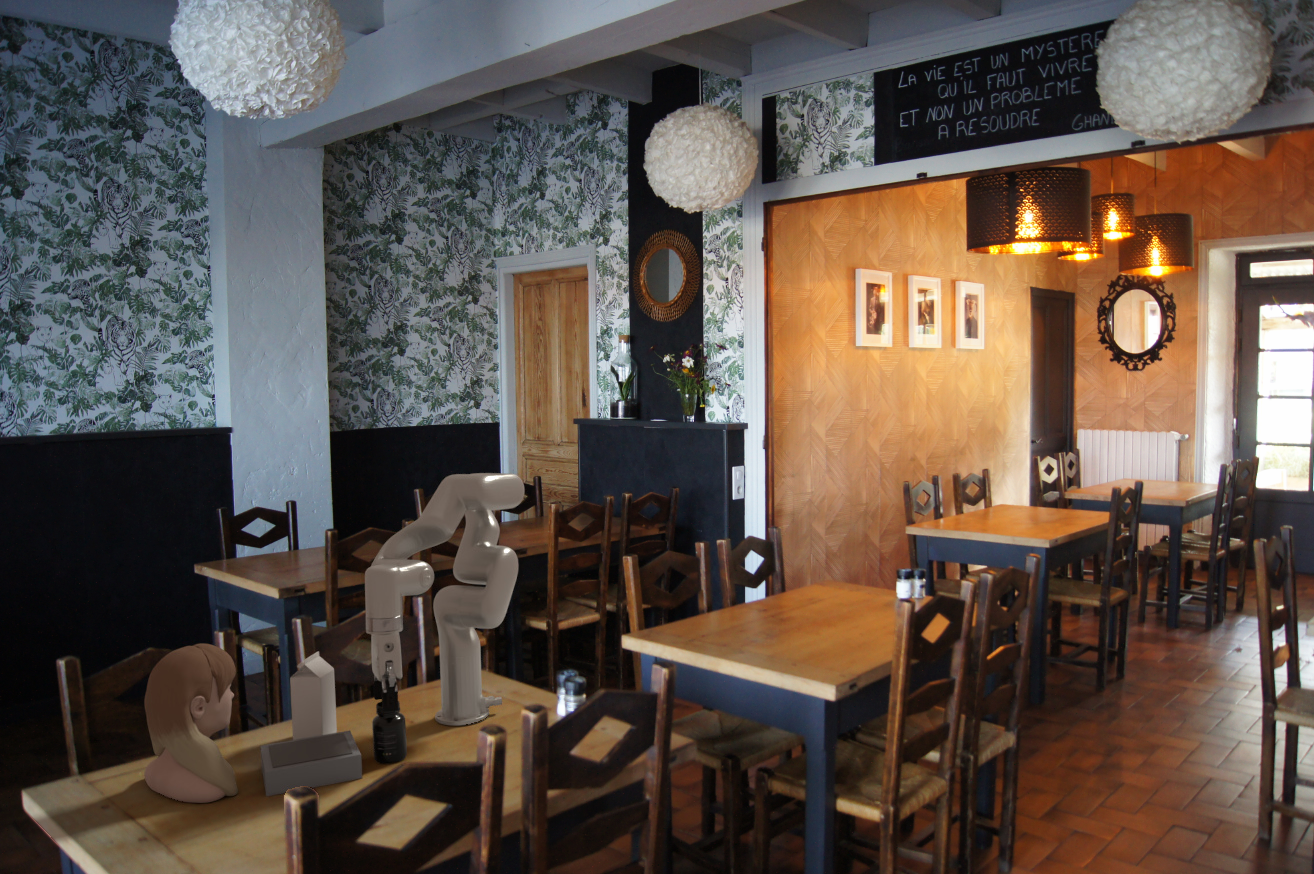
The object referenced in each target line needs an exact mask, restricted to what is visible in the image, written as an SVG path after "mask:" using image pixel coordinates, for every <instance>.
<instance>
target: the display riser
mask: <svg viewBox="0 0 1314 874" xmlns="http://www.w3.org/2000/svg"><path fill="white" fill-rule="evenodd" d="M260 766H261V775H262V779H263V785H264V791H265V796H266V797H271V796H276V795H277V796H278V795H281V794H286V793H285V792H286V791H287V790H288V789H292V788H295V787H300V786H308V787H312V788H318V787H324V786H329V785H333V784H334V785H335V784H339V783H344V782H350V781H354V780H355V781H356V780H360V779H363V763H362V753H361V752H360V748H359V747H358V745H357V742H356V740H355V738H354V736H353V734H352V732H351V730H344V731H337V732H336V733H332V734H326V735H320V736H314V737H308V738H302V739H296V740H293V739H290V740H286V741H279V742H272V743H268V744H263V745H260ZM312 788H311V789H312Z"/></svg>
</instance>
